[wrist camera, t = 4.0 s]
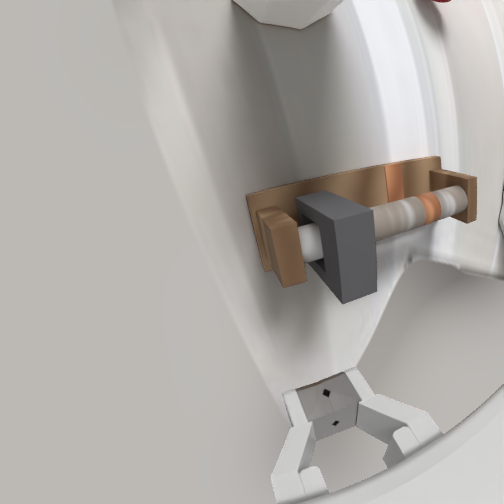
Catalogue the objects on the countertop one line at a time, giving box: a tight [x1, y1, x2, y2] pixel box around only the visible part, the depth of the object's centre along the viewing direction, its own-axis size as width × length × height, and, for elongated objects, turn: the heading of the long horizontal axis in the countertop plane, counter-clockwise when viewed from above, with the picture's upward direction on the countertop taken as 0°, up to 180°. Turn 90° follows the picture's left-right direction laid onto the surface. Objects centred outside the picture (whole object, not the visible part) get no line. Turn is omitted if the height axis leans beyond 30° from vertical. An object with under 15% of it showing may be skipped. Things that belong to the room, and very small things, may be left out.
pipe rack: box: [246, 156, 477, 288], centre depth 25 cm, size 25×8×8 cm, turn 104°
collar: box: [295, 190, 377, 304], centre depth 22 cm, size 3×6×8 cm, turn 14°
